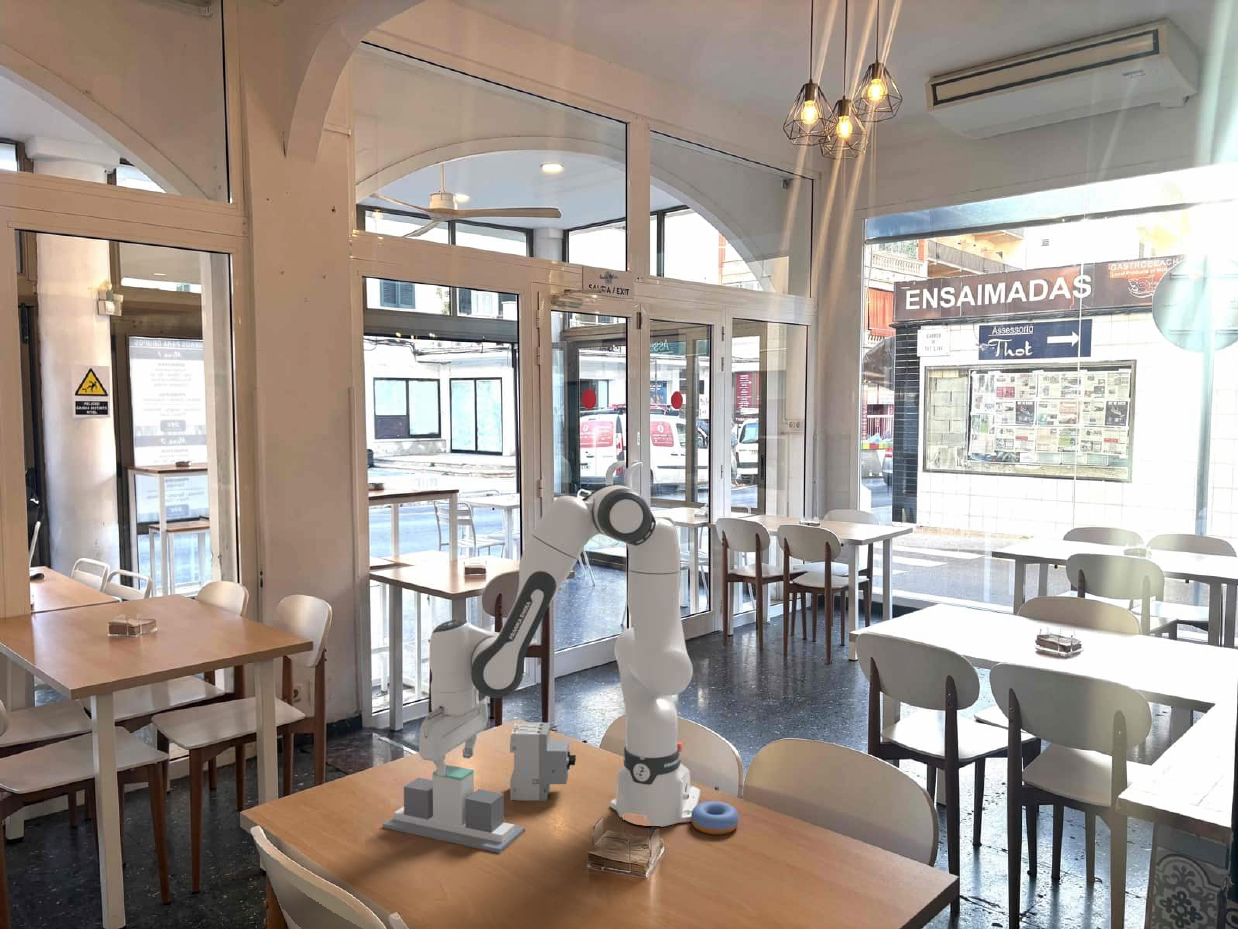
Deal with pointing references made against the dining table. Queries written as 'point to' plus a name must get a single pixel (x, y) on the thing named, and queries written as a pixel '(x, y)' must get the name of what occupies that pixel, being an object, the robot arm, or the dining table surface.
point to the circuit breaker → (537, 761)
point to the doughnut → (714, 817)
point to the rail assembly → (478, 831)
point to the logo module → (452, 794)
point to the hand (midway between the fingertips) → (455, 765)
